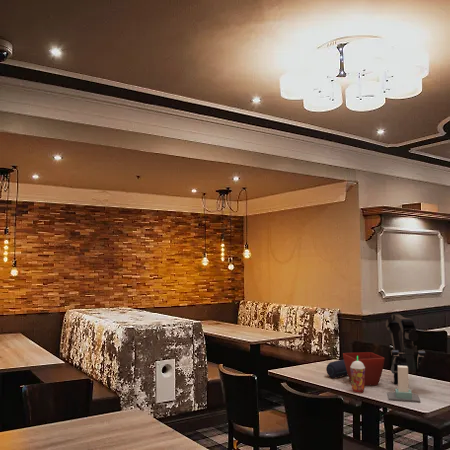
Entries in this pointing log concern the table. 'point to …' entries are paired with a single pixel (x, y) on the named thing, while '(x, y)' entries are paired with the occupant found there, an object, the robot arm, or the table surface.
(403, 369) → the cream pillar
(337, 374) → the portable speaker
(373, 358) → the plant pot
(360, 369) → the smoothie
